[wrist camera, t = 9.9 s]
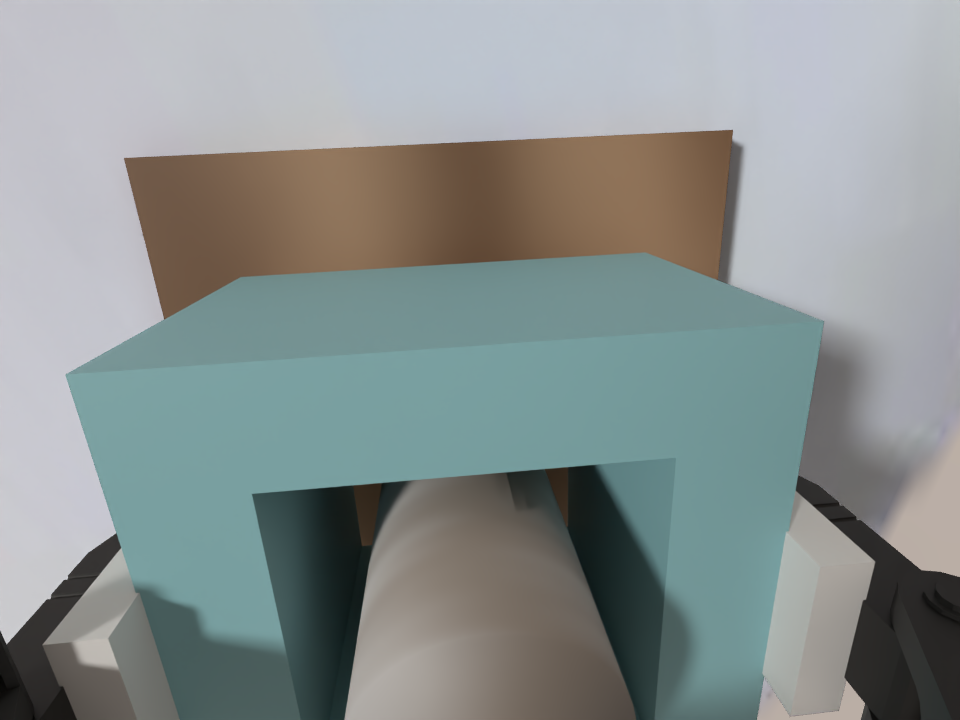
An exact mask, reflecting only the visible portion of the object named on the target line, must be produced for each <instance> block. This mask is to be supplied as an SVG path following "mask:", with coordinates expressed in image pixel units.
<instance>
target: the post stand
mask: <svg viewBox="0 0 960 720" xmlns="http://www.w3.org/2000/svg"><path fill="white" fill-rule="evenodd" d="M732 135H733V130H722V131H700V132H679V133H657V134H635V135H614V136H592V137H570V138H549V139H527V140H506V141H484V142H462V143H441V144H419V145H397V146H376V147H354V148H332V149H311V150H289V151H268V152H246V153H224V154H203V155H181V156H159V157H138V158H124V160H125V164H126V168H127V172H128V176H129V180H130V184H131V188H132V192H133V196H134V200H135V204H136V208H137V212H138V216H139V220H140V224H141V228H142V232H143V236H144V240H145V244H146V248H147V252H148V256H149V260H150V264H151V268H152V272H153V276H154V280H155V284H156V288H157V292H158V296H159V300H160V304H161V308H162V312H163V316H164V320H165V319H166V318H168V317H170V316H172V315H174V314H175V313H177V312H179V311H181V310H183V309H184V308H186V307H188V306H190V305H192V304H193V303H195V302H197V301H199V300H201V299H202V298H204V297H206V296H208V295H210V294H211V293H213V292H215V291H217V290H218V289H220V288H222V287H224V286H226V285H227V284H229V283H231V282H233V281H235V280H236V279H238V278H240V277H250V276H267V275H283V274H299V273H316V272H332V271H349V270H365V269H382V268H398V267H414V266H431V265H447V264H464V263H480V262H497V261H513V260H529V259H546V258H562V257H579V256H595V255H612V254H628V253H644V252H646V253H648V254H651V255H653V256H656V257H659V258H661V259H664V260H666V261H669V262H672V263H674V264H677V265H679V266H682V267H685V268H687V269H690V270H692V271H695V272H697V273H700V274H703V275H705V276H708V277H710V278H713V279H716V280H718V272H719V262H720V252H721V242H722V233H723V223H724V213H725V203H726V193H727V184H728V174H729V164H730V154H731V145H732ZM353 488H354V494H355V501H356V508H357V515H358V522H359V529H360V536H361V543H362V546H367V545H372V549H371V555H370V561H369V568H368V574H367V580H366V587H365V593H364V599H363V606H362V612H361V618H360V625H359V631H358V637H357V644H356V650H355V656H354V663H353V669H352V675H351V682H350V688H349V694H348V701H347V707H346V713H345V720H636V716H635V711H634V706H633V703H632V700H631V698H630V695H629V692H628V690H627V687H626V684H625V682H624V679H623V676H622V674H621V671H620V668H619V666H618V663H617V660H616V658H615V655H614V652H613V650H612V647H611V644H610V642H609V639H608V636H607V634H606V631H605V628H604V626H603V623H602V620H601V618H600V615H599V612H598V610H597V607H596V604H595V602H594V599H593V596H592V594H591V591H590V588H589V586H588V583H587V580H586V578H585V575H584V572H583V570H582V567H581V564H580V562H579V559H578V556H577V554H576V551H575V548H574V546H573V543H572V540H571V538H570V535H569V532H568V530H567V527H568V467H562V468H551V469H539V470H527V471H515V472H504V473H492V474H480V475H468V476H457V477H445V478H433V479H421V480H410V481H398V482H386V483H374V484H363V485H353Z"/></svg>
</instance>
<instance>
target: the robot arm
mask: <svg viewBox="0 0 960 720" xmlns="http://www.w3.org/2000/svg"><path fill="white" fill-rule="evenodd" d="M762 674H763V676H764V677H765V679H766V680H767V682H768V683H769V685H770V686H771V688H772V690H773V691H774V693H775V694H776V696H777V697H778V699H779V700H780V702H781V703H782V705H783V706H784V708H785V709H786V711H787V712H788V714H789V716H799V715H807V714H816V713H824V712H833V711H839V708H840V704H841V700H842V696H843V691H844V687H845V684H846V680H847V681H848V683H849V684H850V685H851V686H852V688H853V689H854V690H855V691H856V693H857V694H858V695H859V696H860V697H861V699H862V700H863V701H864V702H865V706H864V710H863V714H862V718H861V720H960V577H957V576H953V575H949V574H946V573H942V572H935V571H922V570H920V569H919V568H918V567H917V566H915V565H914V564H913V563H912V562H911V561H909V560H908V559H907V558H906V557H905V556H903V555H902V554H901V553H900V552H898V551H897V550H896V549H895V548H894V547H892V546H891V545H890V544H889V543H888V542H886V541H885V540H884V539H883V538H881V537H880V536H879V535H878V534H877V533H875V532H874V531H873V530H872V529H871V528H869V527H868V526H867V525H866V524H864V523H863V522H862V521H861V520H858V521H857V519H856V516H855V515H854V514H852V513H851V512H850V511H849V510H848V509H846V508H845V507H844V506H840V505H839V502H838V501H837V500H835V499H834V498H833V497H832V496H831V495H829V494H828V493H827V492H826V491H824V490H823V489H822V488H821V487H820V486H818V485H816V484H814V483H812V482H810V481H808V480H806V479H804V478H802V477H800V476H798V479H797V485H796V491H795V496H794V502H793V508H792V514H791V520H790V526H789V531H787V532H786V535H785V541H784V547H783V553H782V559H781V565H780V571H779V576H778V582H777V588H776V594H775V600H774V606H773V612H772V618H771V624H770V630H769V636H768V642H767V648H766V654H765V660H764V666H763V672H762ZM0 720H180V719H179V716H178V712H177V709H176V706H175V703H174V700H173V697H172V694H171V690H170V687H169V684H168V681H167V678H166V675H165V672H164V669H163V665H162V662H161V659H160V656H159V653H158V650H157V647H156V643H155V640H154V637H153V634H152V631H151V628H150V625H149V621H148V618H147V615H146V612H145V609H144V606H143V603H142V599H141V596H140V593H136V592H135V589H134V586H133V583H132V580H131V577H130V574H129V570H128V567H127V564H126V561H125V558H124V555H123V552H122V549H121V546H120V542H119V539H118V536H117V533H116V534H115V535H113V536H112V537H110V538H109V539H108V540H106V541H105V542H103V543H102V544H100V545H99V546H98V547H96V548H95V549H93V550H92V551H90V552H89V553H88V554H87V555H86V556H85V557H84V558H83V559H82V561H81V562H80V563H79V564H78V565H77V566H76V567H75V568H74V570H73V571H72V572H71V573H70V574H69V575H68V580H64V581H63V582H62V583H61V584H60V585H59V586H58V588H57V589H56V590H55V591H54V592H53V593H52V594H51V599H48V600H46V601H45V602H44V603H43V604H42V606H41V607H40V608H39V609H38V610H37V611H36V612H35V613H34V615H33V616H32V617H31V618H30V619H29V620H28V621H27V622H26V624H25V625H24V626H23V627H22V628H21V629H20V630H19V631H18V633H17V634H16V635H15V636H14V637H13V638H12V639H11V640H10V642H9V643H8V644H7V645H6V643H5V640H4V638H3V636H2V634H1V631H0Z"/></svg>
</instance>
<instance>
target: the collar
mask: <svg viewBox="0 0 960 720" xmlns="http://www.w3.org/2000/svg"><path fill="white" fill-rule="evenodd" d="M823 325H824V321H822V320H819V319H817V318H814V317H812V316H809V315H806V314H804V313H801V312H799V311H796V310H793V309H791V308H788V307H786V306H783V305H780V304H778V303H775V302H773V301H770V300H768V299H765V298H762V297H760V296H757V295H755V294H752V293H749V292H747V291H744V290H742V289H739V288H736V287H734V286H731V285H729V284H726V283H723V282H721V281H718V280H716V279H713V278H710V277H708V276H705V275H703V274H700V273H697V272H695V271H692V270H690V269H687V268H685V267H682V266H679V265H677V264H674V263H672V262H669V261H666V260H664V259H661V258H659V257H656V256H653V255H651V254H648V253H646V252H644V253H628V254H612V255H595V256H579V257H562V258H546V259H529V260H513V261H497V262H480V263H464V264H447V265H431V266H414V267H398V268H382V269H365V270H349V271H332V272H316V273H299V274H283V275H267V276H250V277H240V278H238V279H236V280H235V281H233V282H231V283H229V284H227V285H226V286H224V287H222V288H220V289H218V290H217V291H215V292H213V293H211V294H210V295H208V296H206V297H204V298H202V299H201V300H199V301H197V302H195V303H193V304H192V305H190V306H188V307H186V308H184V309H183V310H181V311H179V312H177V313H175V314H174V315H172V316H170V317H168V318H166V319H165V320H163V321H161V322H159V323H157V324H156V325H154V326H152V327H150V328H148V329H147V330H145V331H143V332H141V333H139V334H138V335H136V336H134V337H132V338H130V339H129V340H127V341H125V342H123V343H121V344H120V345H118V346H116V347H114V348H112V349H111V350H109V351H107V352H105V353H103V354H102V355H100V356H98V357H96V358H95V359H93V360H91V361H89V362H87V363H86V364H84V365H82V366H80V367H78V368H77V369H75V370H73V371H71V372H69V373H68V374H66V378H67V381H68V384H69V387H70V390H71V393H72V397H73V400H74V403H75V406H76V409H77V412H78V415H79V418H80V421H81V425H82V428H83V431H84V434H85V437H86V440H87V443H88V446H89V449H90V452H91V456H92V459H93V462H94V465H95V468H96V471H97V474H98V477H99V480H100V484H101V487H102V490H103V493H104V496H105V499H106V502H107V505H108V508H109V511H110V515H111V518H112V521H113V524H114V527H115V530H116V533H117V536H118V539H119V542H120V546H121V549H122V552H123V555H124V558H125V561H126V564H127V567H128V570H129V574H130V577H131V580H132V583H133V586H134V589H135V592H136V593H140V596H141V599H142V603H143V606H144V609H145V612H146V615H147V618H148V621H149V625H150V628H151V631H152V634H153V637H154V640H155V643H156V647H157V650H158V653H159V656H160V659H161V662H162V665H163V669H164V672H165V675H166V678H167V681H168V684H169V687H170V690H171V694H172V697H173V700H174V703H175V706H176V709H177V712H178V716H179V719H180V720H345V713H346V707H347V701H348V694H349V688H350V682H351V675H352V669H353V663H354V656H355V650H356V644H357V637H358V631H359V625H360V618H361V612H362V606H363V599H364V593H365V587H366V580H367V574H368V568H369V561H370V555H371V549H372V545H367V546H362V543H361V536H360V529H359V522H358V515H357V508H356V501H355V494H354V488H353V485H363V484H374V483H386V482H398V481H410V480H421V479H433V478H445V477H457V476H468V475H480V474H492V473H504V472H515V471H527V470H539V469H551V468H562V467H568V527H567V530H568V532H569V535H570V538H571V540H572V543H573V546H574V548H575V551H576V554H577V556H578V559H579V562H580V564H581V567H582V570H583V572H584V575H585V578H586V580H587V583H588V586H589V588H590V591H591V594H592V596H593V599H594V602H595V604H596V607H597V610H598V612H599V615H600V618H601V620H602V623H603V626H604V628H605V631H606V634H607V636H608V639H609V642H610V644H611V647H612V650H613V652H614V655H615V658H616V660H617V663H618V666H619V668H620V671H621V674H622V676H623V679H624V682H625V684H626V687H627V690H628V692H629V695H630V698H631V700H632V703H633V706H634V711H635V716H636V720H757V715H758V710H759V704H760V698H761V692H762V686H763V680H764V676H763V674H762V672H763V666H764V660H765V654H766V648H767V642H768V636H769V630H770V624H771V618H772V612H773V606H774V600H775V594H776V588H777V582H778V576H779V571H780V565H781V559H782V553H783V547H784V541H785V535H786V532H787V531H789V526H790V520H791V514H792V508H793V502H794V496H795V491H796V485H797V479H798V473H799V467H800V461H801V455H802V449H803V443H804V437H805V431H806V425H807V420H808V414H809V408H810V402H811V396H812V390H813V384H814V378H815V372H816V366H817V360H818V354H819V349H820V343H821V337H822V331H823Z"/></svg>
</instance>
